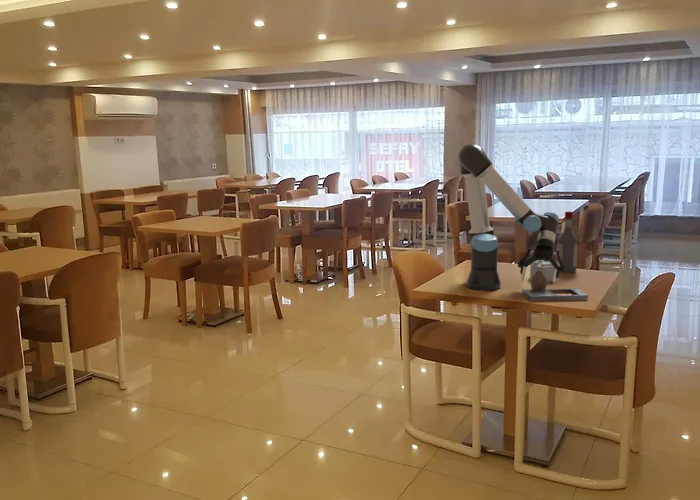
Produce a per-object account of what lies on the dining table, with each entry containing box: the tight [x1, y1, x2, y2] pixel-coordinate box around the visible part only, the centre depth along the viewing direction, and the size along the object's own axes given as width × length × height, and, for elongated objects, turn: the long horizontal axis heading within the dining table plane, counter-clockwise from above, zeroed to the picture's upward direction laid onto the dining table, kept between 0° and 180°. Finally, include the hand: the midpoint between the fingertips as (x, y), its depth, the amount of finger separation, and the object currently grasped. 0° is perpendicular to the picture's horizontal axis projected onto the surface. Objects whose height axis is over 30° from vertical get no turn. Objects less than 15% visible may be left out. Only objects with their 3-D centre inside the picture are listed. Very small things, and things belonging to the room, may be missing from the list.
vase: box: [530, 271, 548, 289], centre depth 274 cm, size 7×7×9 cm
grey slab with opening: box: [521, 288, 589, 302], centre depth 264 cm, size 24×12×2 cm, turn 92°
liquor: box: [555, 211, 579, 274], centre depth 313 cm, size 9×9×30 cm
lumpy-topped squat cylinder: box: [529, 260, 555, 283], centre depth 298 cm, size 10×13×9 cm
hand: (537, 281), depth 272 cm, fingers open, 13 cm apart
